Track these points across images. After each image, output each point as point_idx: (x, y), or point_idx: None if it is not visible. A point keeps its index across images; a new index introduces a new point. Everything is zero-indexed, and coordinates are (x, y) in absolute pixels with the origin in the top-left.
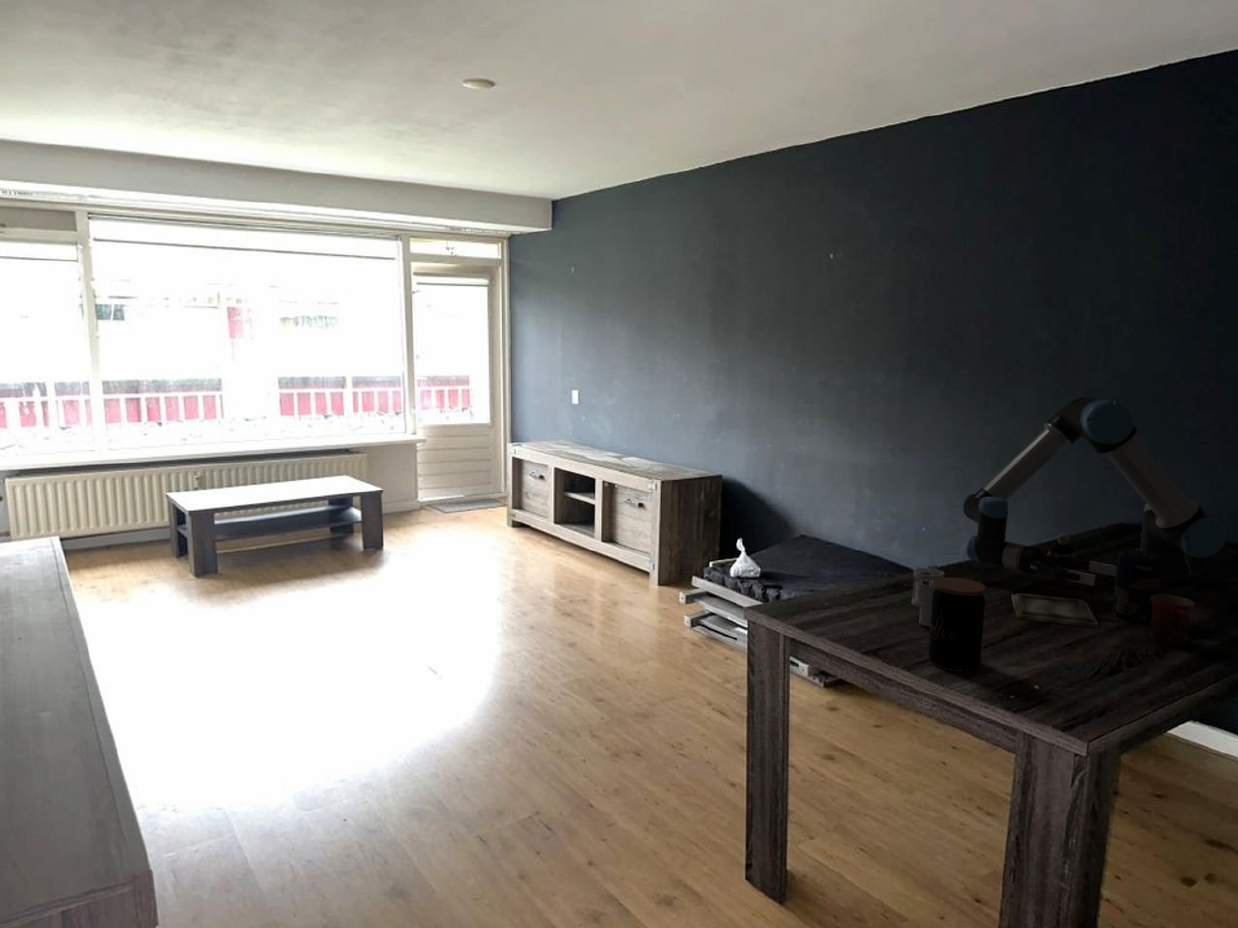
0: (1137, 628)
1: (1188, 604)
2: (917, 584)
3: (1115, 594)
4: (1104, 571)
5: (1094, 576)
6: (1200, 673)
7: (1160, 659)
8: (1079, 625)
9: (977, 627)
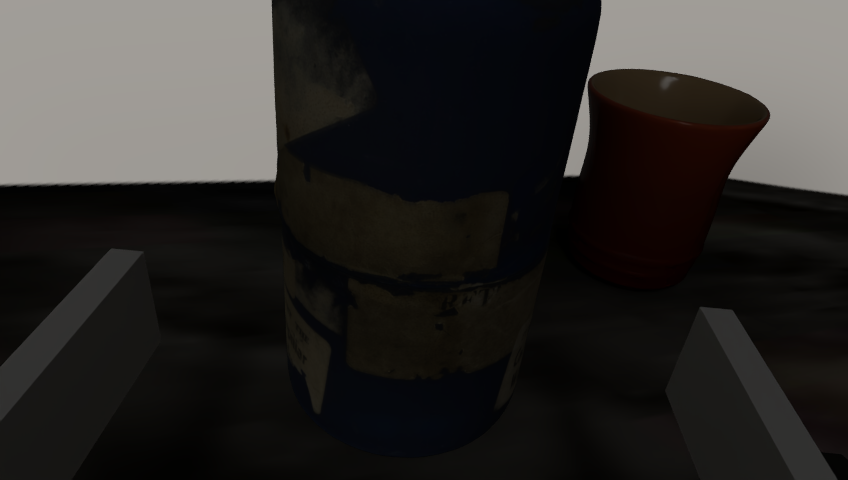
0: (573, 343)
1: (611, 90)
2: None
3: (495, 344)
4: (101, 396)
5: (726, 317)
6: (796, 200)
7: (826, 257)
8: None
9: None
